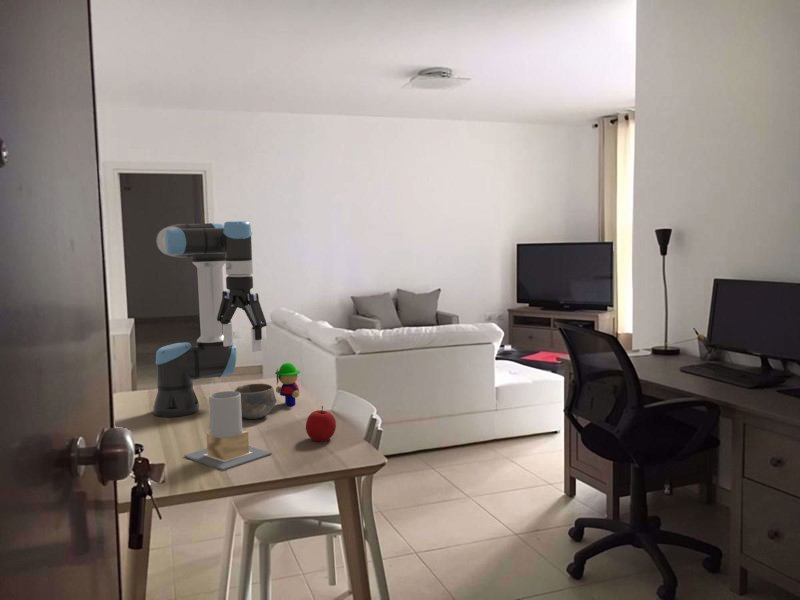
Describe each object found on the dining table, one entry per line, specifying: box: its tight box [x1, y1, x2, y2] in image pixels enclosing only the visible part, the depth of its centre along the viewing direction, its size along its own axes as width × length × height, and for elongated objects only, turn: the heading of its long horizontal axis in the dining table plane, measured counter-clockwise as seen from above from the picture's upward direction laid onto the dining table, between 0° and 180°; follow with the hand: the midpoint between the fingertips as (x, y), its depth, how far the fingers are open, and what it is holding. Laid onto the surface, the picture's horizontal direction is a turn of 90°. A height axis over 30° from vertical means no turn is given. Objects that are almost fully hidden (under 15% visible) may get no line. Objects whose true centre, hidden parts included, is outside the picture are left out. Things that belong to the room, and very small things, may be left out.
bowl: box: [234, 383, 278, 420], centre depth 231 cm, size 14×15×10 cm
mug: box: [208, 390, 243, 438], centre depth 191 cm, size 12×8×11 cm
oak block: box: [206, 429, 249, 460], centre depth 192 cm, size 8×8×6 cm
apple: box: [305, 405, 337, 442], centre depth 205 cm, size 9×9×10 cm
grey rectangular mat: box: [184, 445, 273, 471], centre depth 192 cm, size 18×16×1 cm
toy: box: [274, 362, 301, 407], centre depth 247 cm, size 11×9×15 cm
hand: (242, 348), depth 201 cm, fingers open, 13 cm apart
